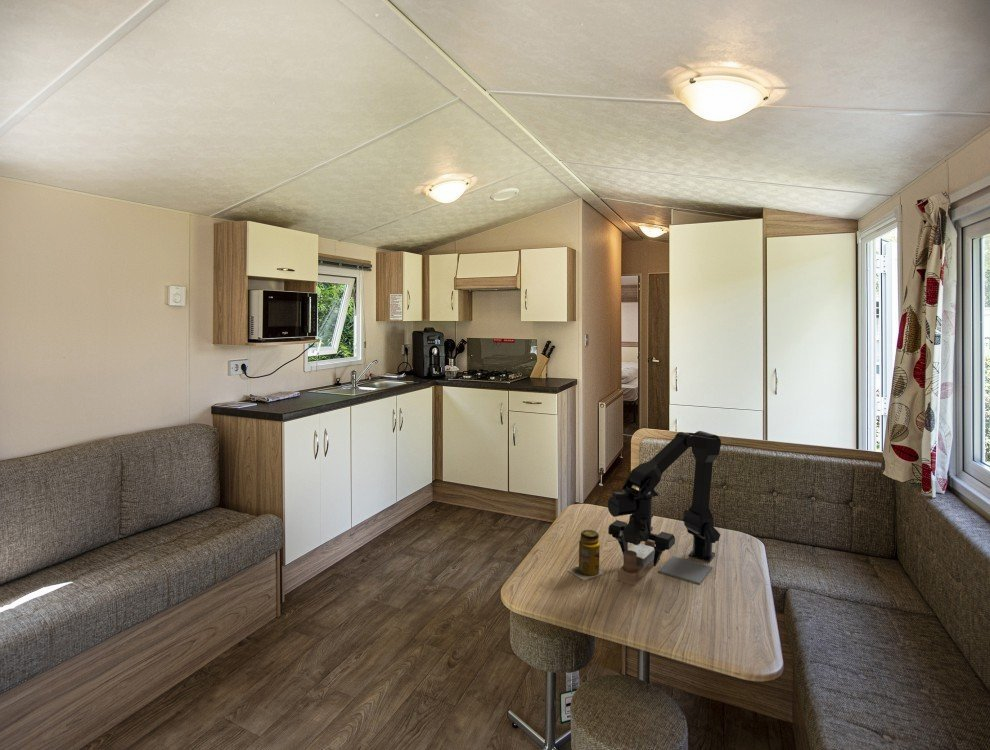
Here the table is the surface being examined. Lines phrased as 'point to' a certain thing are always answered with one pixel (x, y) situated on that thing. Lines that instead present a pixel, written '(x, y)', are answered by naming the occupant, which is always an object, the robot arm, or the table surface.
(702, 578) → the rubber mat
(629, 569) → the plane body
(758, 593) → the table surface
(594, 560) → the condiment
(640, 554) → the lever cap
